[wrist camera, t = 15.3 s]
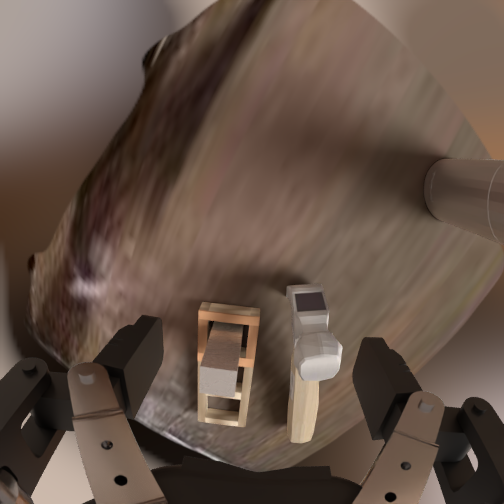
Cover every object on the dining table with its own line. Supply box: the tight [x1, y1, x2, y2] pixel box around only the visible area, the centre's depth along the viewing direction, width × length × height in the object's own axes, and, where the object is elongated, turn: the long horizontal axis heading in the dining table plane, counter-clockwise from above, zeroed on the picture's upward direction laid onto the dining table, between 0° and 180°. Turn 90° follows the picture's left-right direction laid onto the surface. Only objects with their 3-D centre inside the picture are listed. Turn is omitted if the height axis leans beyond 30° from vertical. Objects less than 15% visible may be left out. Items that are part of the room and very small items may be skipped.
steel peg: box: [199, 321, 244, 397], centre depth 36 cm, size 4×4×12 cm
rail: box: [198, 302, 260, 427], centre depth 43 cm, size 8×22×3 cm, turn 174°
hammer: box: [286, 283, 343, 443], centre depth 38 cm, size 16×5×30 cm
